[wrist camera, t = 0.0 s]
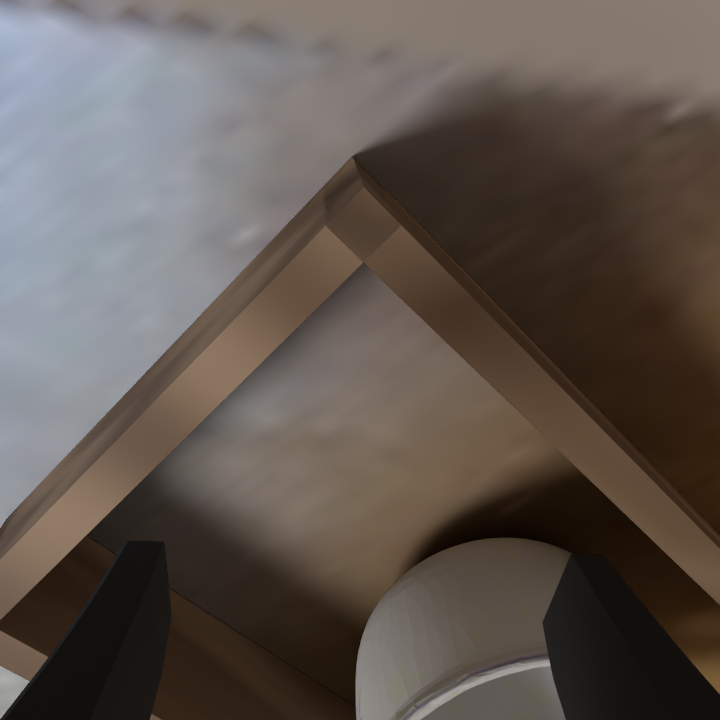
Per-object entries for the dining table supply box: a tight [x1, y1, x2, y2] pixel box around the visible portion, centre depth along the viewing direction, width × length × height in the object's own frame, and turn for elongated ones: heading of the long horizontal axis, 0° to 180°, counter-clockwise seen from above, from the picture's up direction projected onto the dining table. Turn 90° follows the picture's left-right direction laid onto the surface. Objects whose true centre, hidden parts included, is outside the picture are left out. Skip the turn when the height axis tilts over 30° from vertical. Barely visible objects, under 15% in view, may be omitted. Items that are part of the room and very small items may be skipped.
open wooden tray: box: [0, 156, 720, 720], centre depth 23 cm, size 17×24×5 cm
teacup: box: [356, 538, 572, 720], centre depth 23 cm, size 14×11×8 cm
